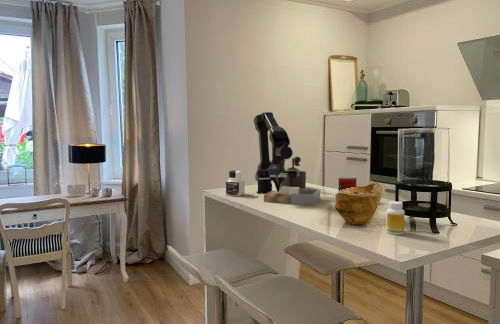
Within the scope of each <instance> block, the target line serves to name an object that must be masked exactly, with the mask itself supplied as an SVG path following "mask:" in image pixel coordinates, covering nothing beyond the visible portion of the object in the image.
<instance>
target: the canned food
mask: <svg viewBox="0 0 500 324" xmlns="http://www.w3.org/2000/svg"><path fill="white" fill-rule="evenodd" d="M337 186H338V188H337V189H338V192H339V191H340V190H342V189H346V188H351V187H356V188H357V176H356V175H345V174H343V175H339V176H338V185H337ZM338 192H337V193H338Z"/></svg>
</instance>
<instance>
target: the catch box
mask: <svg viewBox="0 0 500 324" xmlns="http://www.w3.org/2000/svg"><path fill="white" fill-rule="evenodd" d="M320 200H321V189H313V188H305V189H299V194H291V203H290V204H291V205H299V206H316V204H317V203H318V202H320Z"/></svg>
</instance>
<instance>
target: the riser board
mask: <svg viewBox="0 0 500 324" xmlns="http://www.w3.org/2000/svg"><path fill="white" fill-rule="evenodd" d="M263 202H264V203H266V202H267V203H277V204H291V195H283V194H280V191H279V192H277V190H272V191H270V192H268V193H264V194H263Z"/></svg>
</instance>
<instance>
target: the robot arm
mask: <svg viewBox="0 0 500 324" xmlns="http://www.w3.org/2000/svg"><path fill="white" fill-rule="evenodd" d="M253 124H254V129H255V130H256V131H257V133H258V143H259V144H258V145H259V160H260V161H259V163H258V165H257V169H256V173H255V175H254V178H255V179H254V180H255V181H256V182H257V191H256V193H257V194H267V193H268V192H270V191H273V184H274V186H275V191H277V192H279V191H280V187H281V185H282V183H283V181H284V179H285V178H287V175H288V176H289V177H298V176H300V172H299V170H300V169H298V170H289V171H285V170H286V165H285V162H286V160H289V159H291V158H292V156H293V152H294V151H293V149H292V147H290V146H291V140H290V137H289V134H288V132H287V131H286V130H285V129H284V127H281V126H279V124H278V121H276V119H275V116H274V113H273V112H269V111H267V112H265V111H264V112H261V113H260V114H257V115H255V116H254V118H253ZM268 132H269V133H268ZM269 141H270V143H271V159H270V149H269V148H270V147H269V146H270V145H269ZM272 182H273V183H272Z"/></svg>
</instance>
